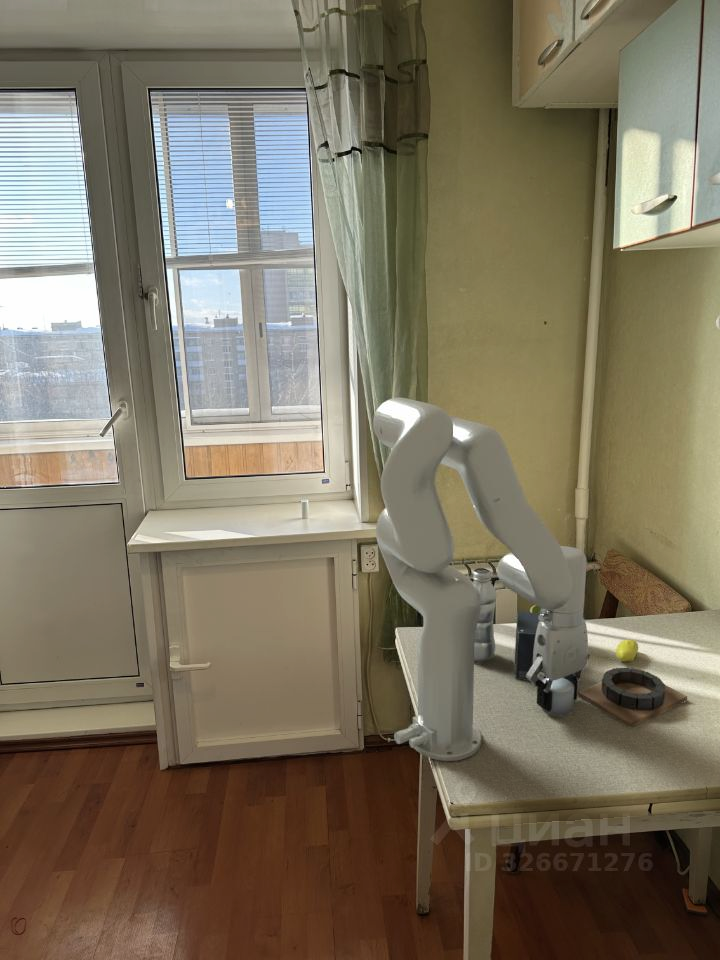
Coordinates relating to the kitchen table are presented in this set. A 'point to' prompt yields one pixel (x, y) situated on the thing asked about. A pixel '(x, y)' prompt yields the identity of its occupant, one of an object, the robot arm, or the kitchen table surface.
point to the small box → (525, 642)
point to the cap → (561, 697)
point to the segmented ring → (632, 699)
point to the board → (625, 714)
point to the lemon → (627, 650)
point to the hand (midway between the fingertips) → (556, 701)
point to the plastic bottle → (484, 615)
